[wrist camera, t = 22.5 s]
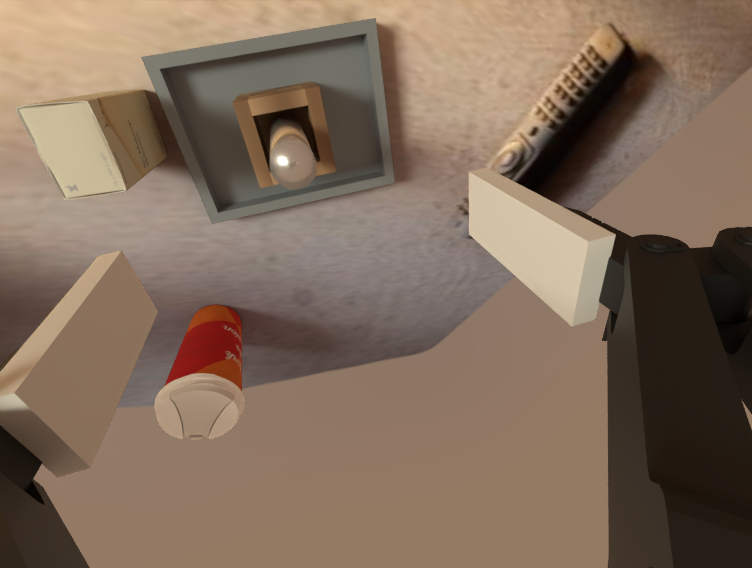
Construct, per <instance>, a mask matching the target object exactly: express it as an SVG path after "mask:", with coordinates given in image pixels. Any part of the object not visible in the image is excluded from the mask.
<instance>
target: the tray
mask: <svg viewBox="0 0 752 568" xmlns="http://www.w3.org/2000/svg"><path fill="white" fill-rule="evenodd" d="M141 58H142V60H143V62H144V65H145V67H146V69H147V72H148V74H149V77H150V79H151V81H152V84H153V86H154V88H155V91H156V93H157V95H158V98H159V100H160V102H161V105H162V107H163V110H164V112H165V114H166V117H167V119H168V121H169V124H170V126H171V128H172V131H173V133H174V136H175V138H176V140H177V143H178V145H179V147H180V150H181V152H182V154H183V157H184V159H185V161H186V164H187V166H188V169H189V171H190V173H191V176H192V178H193V180H194V183H195V185H196V187H197V190H198V192H199V194H200V197H201V199H202V202H203V204H204V206H205V209H206V211H207V213H208V216H209V218H210V220H211V223H212V224H214V223H219V222H223V221H228V220H232V219H236V218H241V217H245V216H250V215H254V214H259V213H263V212H268V211H272V210H276V209H281V208H285V207H290V206H294V205H299V204H303V203H308V202H312V201H316V200H321V199H325V198H330V197H334V196H339V195H343V194H347V193H352V192H356V191H361V190H365V189H370V188H374V187H379V186H383V185H387V184H392V183H395V179H394V170H393V162H392V153H391V145H390V136H389V128H388V119H387V111H386V102H385V94H384V85H383V77H382V68H381V59H380V51H379V42H378V34H377V25H376V18H374V19H368V20H362V21H356V22H350V23H344V24H338V25H332V26H326V27H320V28H314V29H308V30H302V31H296V32H290V33H284V34H278V35H272V36H266V37H260V38H254V39H248V40H242V41H236V42H230V43H224V44H218V45H212V46H206V47H200V48H194V49H188V50H182V51H176V52H170V53H164V54H158V55H152V56H146V57H141ZM310 81H311V82H313V83H315V84H316V85H318V86H319V88H320V93H321V98H322V103H323V108H324V113H325V118H326V123H327V128H328V132H329V137H330V142H331V147H332V152H333V157H334V162H335V167H336V172H332V173H328V174H323V175H319V176H315V177H314V179H313V180H312V182H311V183H310V184H308V185H307V186H306V187H303V188H301V189H288V188H285V187H283V186H282V185H280V184H277V185H273V186H268V187H264V188H260V186H259V183H258V180H257V177H256V174H255V171H254V168H253V165H252V162H251V158H250V155H249V152H248V149H247V146H246V143H245V140H244V137H243V134H242V131H241V128H240V125H239V122H238V119H237V116H236V113H235V110H234V107H233V103H232V102H233V101H234V100H235V98H236V97H237V96H238V95H240V94H245V93H251V92H256V91H261V90H267V89H272V88H278V87H283V86H288V85H294V84H299V83H304V82H310Z"/></svg>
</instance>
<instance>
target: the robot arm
mask: <svg viewBox="0 0 752 568" xmlns="http://www.w3.org/2000/svg"><path fill="white" fill-rule="evenodd" d="M469 235H470V236H472V237H473V238H474V239H475V240H476V241H477V242H478V243H479V244H481V245H482V246H483V247H484V248H485V249H486V250H487V251H488V252H489V253H491V254H492V255H493V256H494V257H495V258H496V259H497V260H498V261H499V262H501V263H502V264H503V265H504V266H505V267H506V268H507V269H508V270H509V271H511V272H512V273H513V274H514V275H515V276H516V277H517V278H518V279H519V280H521V281H522V282H523V283H524V284H525V285H526V286H527V287H528V288H530V289H531V290H532V291H533V292H534V293H535V294H536V295H537V296H539V297H540V298H541V299H542V300H543V301H544V302H545V303H546V304H547V305H549V306H550V307H551V308H552V309H553V310H554V311H555V312H556V313H557V314H558V315H560V316H561V317H562V318H563V319H564V320H565V321H566V322H567V323H568V324H570V325H571V326H575V325H578V324H582V323H585V322H589V321H592V320H595V319H596V315H597V310H598V307H599V303H602V304H603V305H604V306H606V307H607V308H608V309H610V312H609V316H608V320H607V323H606V327H605V331H604V335H603V338H602V341H607V349H608V350H607V352H608V353H607V356H608V357H607V359H608V361H607V362H608V496H609V497H608V500H609V501H608V502H609V503H608V507H609V560H608V568H752V430H751V427H750V424H749V421H748V418H747V415H746V412H745V409H744V406H743V403H742V401H743V402H744V404H745V405H746V407H747V408H748V410H749V411H750V412H751V414H752V227H746V228H743V227H742V228H741V227H736V228H727V229H724V230H721V231H719V233H718V235H717V237H716V239H715V242H714V245H713V247H703V248H689V247H688V245H687V244H685V243H683V242H682V241H680V240H678V239H675V238H672V237H668V236H663V235H640V236H635V237H631V236H629V235H627V234H625V233H623V232H621V231H619V230H617V229H615V228H613V227H611V226H609V225H607V224H605V223H602V222H601V221H599V220H597V219H595V218H592V217H591V216H589V215H587V214H585V213H583V212H581V211H579V210H575V209H571V208H567V207H562V206H560V205H558V204H556V203H554V202H552V201H550V200H548V199H546V198H544V197H542V196H540V195H539V194H537V193H535V192H533V191H531V190H529V189H527V188H525V187H523V186H521V185H519V184H517V183H515V182H513V181H512V180H510V179H508V178H506V177H504V176H502V175H500V174H498V173H496V172H494V171H492V170H490V169H488V168H483V169H479V170H474V171H470V172H469ZM157 314H158V311H157V309H156V307H155V306H154V304H153V302H152V301H151V299H150V297H149V295H148V294H147V292H146V290H145V289H144V287H143V285H142V284H141V282H140V280H139V279H138V277H137V275H136V274H135V272H134V270H133V269H132V267H131V265H130V264H129V262H128V260H127V259H126V257H125V255H124V254H123V252H122V251H118V252H113V253H109V254H104V255H100V256H98V257H97V258H96V260H95V261H94V262H93V263H92V264H91V265H90V267H89V268H88V269H87V270H86V271H85V273H84V274H83V275H82V276H81V277H80V278H79V280H78V281H77V282H76V283H75V284H74V286H73V287H72V288H71V289H70V290H69V291H68V293H67V294H66V295H65V296H64V297H63V298H62V300H61V301H60V302H59V303H58V304H57V306H56V307H55V308H54V309H53V310H52V311H51V313H50V314H49V315H48V316H47V317H46V319H45V320H44V321H43V322H42V323H41V324H40V326H39V327H38V328H37V329H36V330H35V331H34V333H33V334H32V335H31V336H30V337H29V339H28V340H27V341H26V342H25V343H24V344H23V345H22V346H21V347H20V348H18V349H17V350H16V351H14V352H13V353H12V354H11V355H10V356H9V357H8V358H7V359H6V360H5V361H4V362H3V364H2V365H1V366H0V568H89V566H88V564H87V562H86V561H85V559H84V557H83V555H82V554H81V552H80V550H79V549H78V547H77V545H76V544H75V542H74V540H73V538H72V536H71V535H70V533H69V531H68V530H67V528H66V526H65V524H64V523H63V521H62V519H61V518H60V516H59V514H58V512H57V510H56V509H55V507H54V505H53V504H52V502H51V500H50V498H49V497H48V495H47V493H46V492H45V490H44V488H43V487H42V486H41V485H40V484H39V483H37V482H36V481H35V480H34V479H33V478H34V476H35V474H36V473H37V471H38V469H39V467H40V466H41V464H43V465H44V466H45V467H46V468H47V469H48V470H50V471H51V472H52V473H53V474H54V475H55V476H56V477H61V476H64V475H67V474H71V473H74V472H77V471H81V470H85V469H88V468H91V466H92V464H93V461H94V459H95V457H96V455H97V452H98V450H99V448H100V446H101V443H102V441H103V439H104V436H105V434H106V432H107V429H108V427H109V425H110V422H111V420H112V417H113V415H114V413H115V411H116V408H117V406H118V404H119V402H120V399H121V397H122V395H123V392H124V390H125V388H126V385H127V383H128V381H129V378H130V376H131V374H132V371H133V369H134V367H135V365H136V362H137V360H138V358H139V355H140V353H141V351H142V348H143V346H144V344H145V341H146V339H147V337H148V334H149V332H150V330H151V327H152V325H153V323H154V321H155V318H156V316H157ZM741 399H742V400H741Z"/></svg>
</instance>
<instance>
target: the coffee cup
mask: <svg viewBox="0 0 752 568" xmlns="http://www.w3.org/2000/svg"><path fill="white" fill-rule="evenodd" d="M244 407H245V397H244V395H243V393H242V324H241V319H240V317H239V315H238V314H237V313H236V312H235V311H234V310H233V309H231V308H229V307H227V306H223V305H209V306H206V307H203V308H201V309H200V310H198V311H197V312H196V314H195V315H194V317H193V319H192V321H191V323H190V325H189V327H188V330H187V332H186V335H185V337H184V339H183V342H182V344H181V347H180V349H179V352H178V354H177V357H176V359H175V361H174V364H173V366H172V369H171V371H170V374H169V376H168V379H167V381H166V384H165V386H164V387H163V388H162V389H161V390H160V392H159V393H158V394H157V396H156V399H155V403H154V408H155V412H156V414H157V420H158V423H159V425H160V426H161V428H162V429H163V430H164V431H165V432H167V433H168V434H170V435H172V436H174V437H176V438H179V439H183V436H184V437H186V438H187V437H188V438H189V439H202V438H207V437H208V439H212V438H216V437H219V436H221V435H223V434H225V433H226V432H228V431H229V430H230V429H231V428H232V427H233V426H234V425H235V424H236V422H237V421H238V418H239V417H240V416H241V414H242V412H243V410H244Z"/></svg>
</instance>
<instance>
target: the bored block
mask: <svg viewBox="0 0 752 568" xmlns="http://www.w3.org/2000/svg"><path fill="white" fill-rule="evenodd" d="M232 103H233V107H234V110H235V113H236V116H237V119H238V122H239V125H240V128H241V131H242V134H243V137H244V140H245V143H246V146H247V149H248V152H249V155H250V158H251V162H252V165H253V168H254V171H255V174H256V177H257V180H258V183H259V186H260V188H264V187H268V186H273V185H277V184H279V183H278V182H277V181H276V180H275V179H274V178H273V176H272V174H271V171H270V125H271V122H272V120H273V118H274V117H275V116H277V115H278V114H281V113H289V114H292V115H293V116H295V117H296V118H297V119H298V120H299V122H300V124H301V126H302V128H303V131H304V133H305V136H306V138H307V140H308V143H309V145H310V148H311V150H312V152H313V155H314V157H315V160H316V164H317V171H316V175H315V176H319V175H323V174H328V173H332V172H336V167H335V162H334V157H333V152H332V147H331V142H330V137H329V132H328V128H327V123H326V118H325V113H324V108H323V103H322V98H321V93H320V88H319V86H318V85H316V84H315V83H313V82H311V81H310V82H304V83H299V84H294V85H288V86H283V87H278V88H272V89H267V90H261V91H256V92H251V93H245V94H240V95H238V96H237V97H236V98H235V100H234V101H233V102H232Z"/></svg>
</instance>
